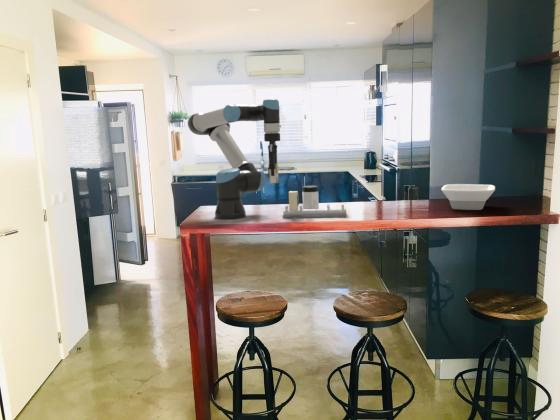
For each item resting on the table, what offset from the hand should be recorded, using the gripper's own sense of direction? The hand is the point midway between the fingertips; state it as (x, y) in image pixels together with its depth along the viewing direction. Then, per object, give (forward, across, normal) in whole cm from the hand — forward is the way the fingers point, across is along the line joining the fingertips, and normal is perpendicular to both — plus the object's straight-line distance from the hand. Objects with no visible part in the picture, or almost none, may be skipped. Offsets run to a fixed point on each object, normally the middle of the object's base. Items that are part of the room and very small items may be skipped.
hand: (273, 182), depth 221 cm
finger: (0, 0, 0) cm, 0 cm away
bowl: (+17, +16, -94) cm, 97 cm away
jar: (+17, +20, -16) cm, 31 cm away
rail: (+17, 0, -19) cm, 26 cm away
